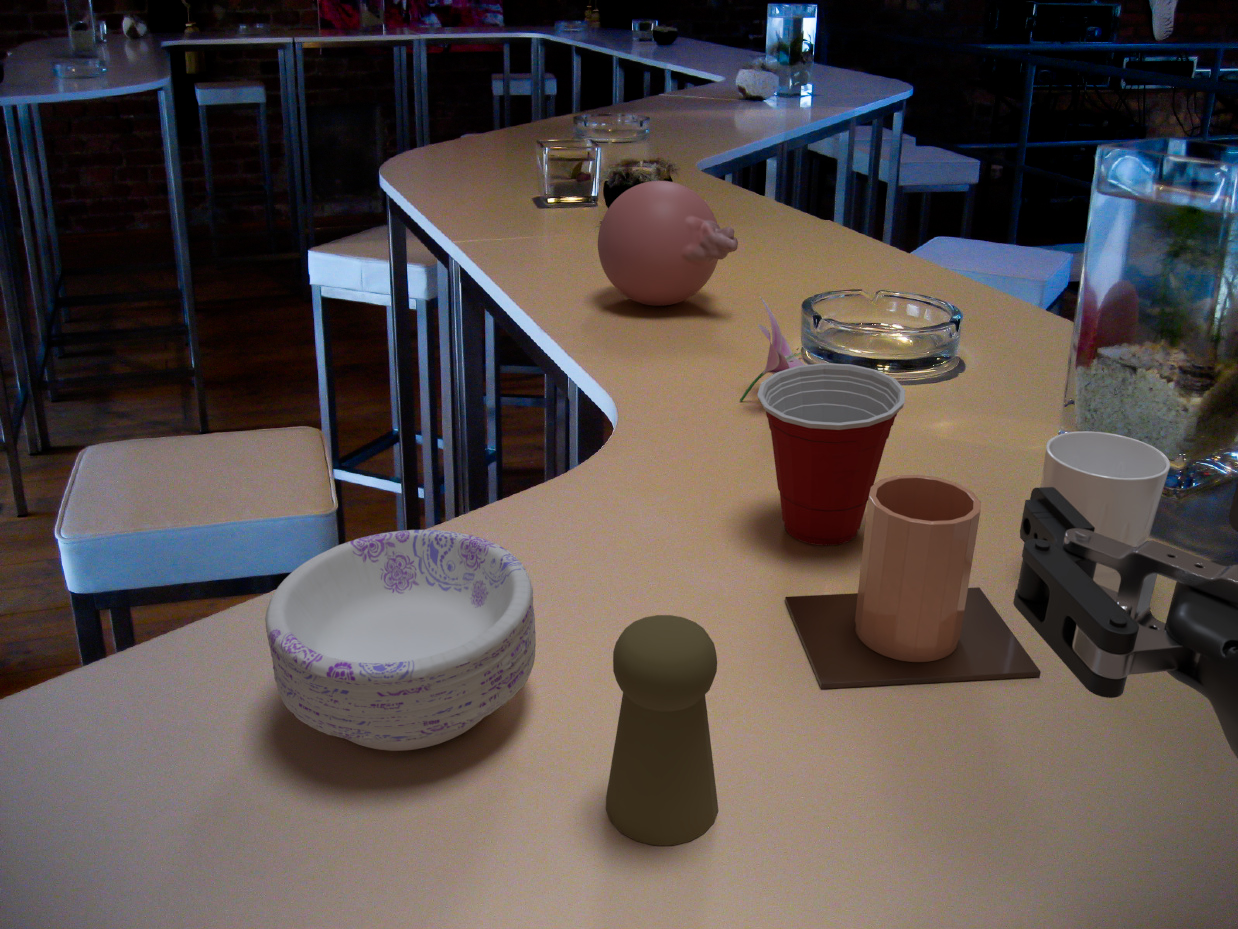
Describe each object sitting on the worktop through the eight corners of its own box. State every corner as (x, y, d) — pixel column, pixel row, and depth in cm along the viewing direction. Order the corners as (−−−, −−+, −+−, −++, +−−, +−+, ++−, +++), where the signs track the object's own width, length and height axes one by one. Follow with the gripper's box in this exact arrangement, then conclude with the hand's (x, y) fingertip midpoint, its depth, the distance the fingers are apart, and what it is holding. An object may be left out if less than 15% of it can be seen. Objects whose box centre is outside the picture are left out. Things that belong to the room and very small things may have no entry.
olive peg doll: (581, 803, 58) (578, 631, 53) (659, 750, 62) (663, 585, 57) (664, 864, 54) (668, 685, 49) (741, 804, 58) (752, 632, 53)
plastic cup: (721, 526, 86) (727, 384, 81) (809, 485, 92) (820, 351, 87) (830, 580, 78) (844, 428, 73) (917, 532, 85) (936, 389, 80)
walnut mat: (978, 591, 77) (979, 587, 77) (1040, 677, 68) (1041, 671, 68) (784, 601, 76) (785, 596, 76) (821, 689, 67) (821, 683, 67)
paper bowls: (251, 791, 59) (228, 671, 55) (315, 631, 73) (300, 527, 69) (531, 786, 59) (526, 667, 56) (543, 628, 73) (539, 524, 69)
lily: (776, 446, 102) (834, 361, 99) (683, 375, 106) (735, 291, 103) (817, 439, 112) (870, 362, 109) (731, 374, 116) (780, 298, 113)
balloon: (685, 339, 127) (688, 206, 120) (573, 302, 140) (571, 181, 133) (770, 311, 136) (778, 187, 130) (658, 279, 149) (660, 165, 143)
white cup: (1035, 542, 83) (1058, 422, 79) (1147, 569, 80) (1176, 445, 75) (1012, 589, 77) (1035, 462, 73) (1131, 620, 74) (1162, 489, 69)
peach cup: (937, 602, 75) (957, 472, 71) (974, 659, 69) (998, 521, 65) (842, 607, 74) (856, 476, 70) (871, 665, 68) (888, 526, 64)
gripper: (1762, 653, 28) (1333, 410, 42) (1234, 684, 27) (979, 423, 41) (1643, 870, 31) (1282, 575, 46) (1168, 905, 30) (953, 591, 45)
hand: (1139, 503), depth 43 cm, fingers open, 8 cm apart
